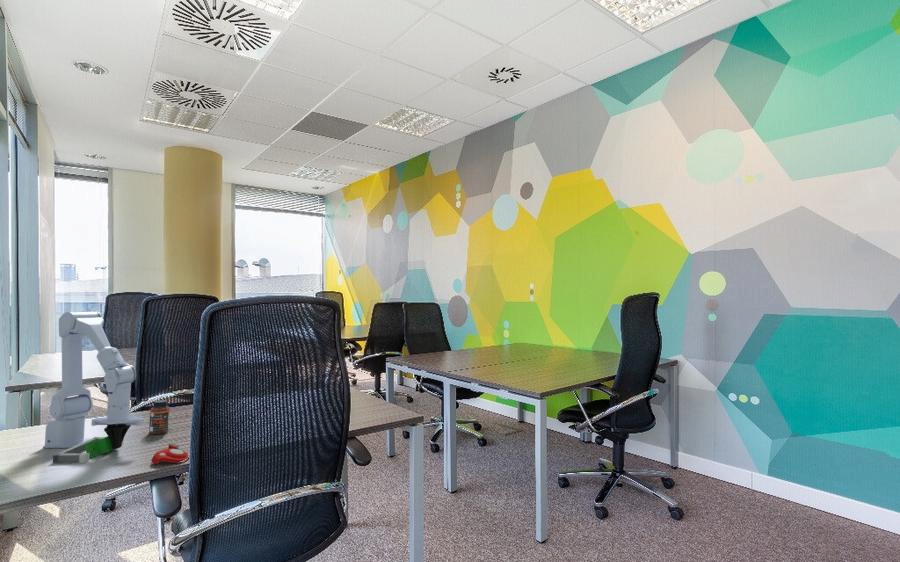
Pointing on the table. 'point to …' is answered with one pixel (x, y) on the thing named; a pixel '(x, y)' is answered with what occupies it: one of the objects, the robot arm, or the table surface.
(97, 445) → the green block
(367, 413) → the table surface
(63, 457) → the keeper bracket
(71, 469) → the table surface
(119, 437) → the robot arm
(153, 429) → the supplement bottle
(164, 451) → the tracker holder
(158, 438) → the table surface
